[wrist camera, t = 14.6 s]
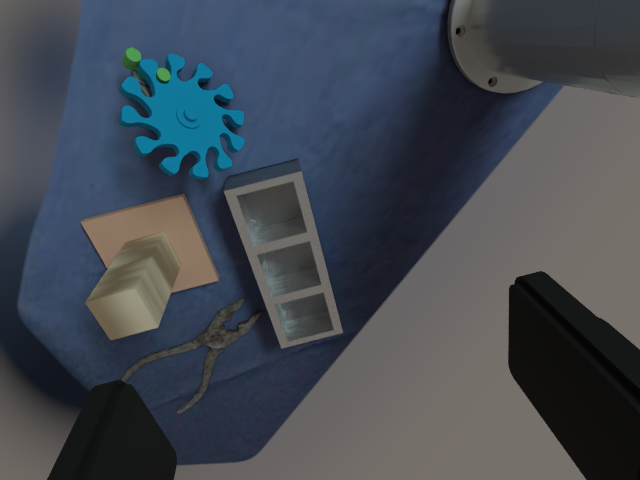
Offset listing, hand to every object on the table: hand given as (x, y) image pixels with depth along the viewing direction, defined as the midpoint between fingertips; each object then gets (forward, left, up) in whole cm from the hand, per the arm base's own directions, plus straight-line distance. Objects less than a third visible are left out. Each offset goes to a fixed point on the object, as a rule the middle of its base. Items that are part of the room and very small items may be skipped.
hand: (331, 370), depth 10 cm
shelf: (+3, +13, -30) cm, 33 cm away
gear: (+8, -3, -31) cm, 32 cm away
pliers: (+18, +23, -31) cm, 42 cm away
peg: (+16, +9, -30) cm, 35 cm away
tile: (+16, +9, -30) cm, 35 cm away
